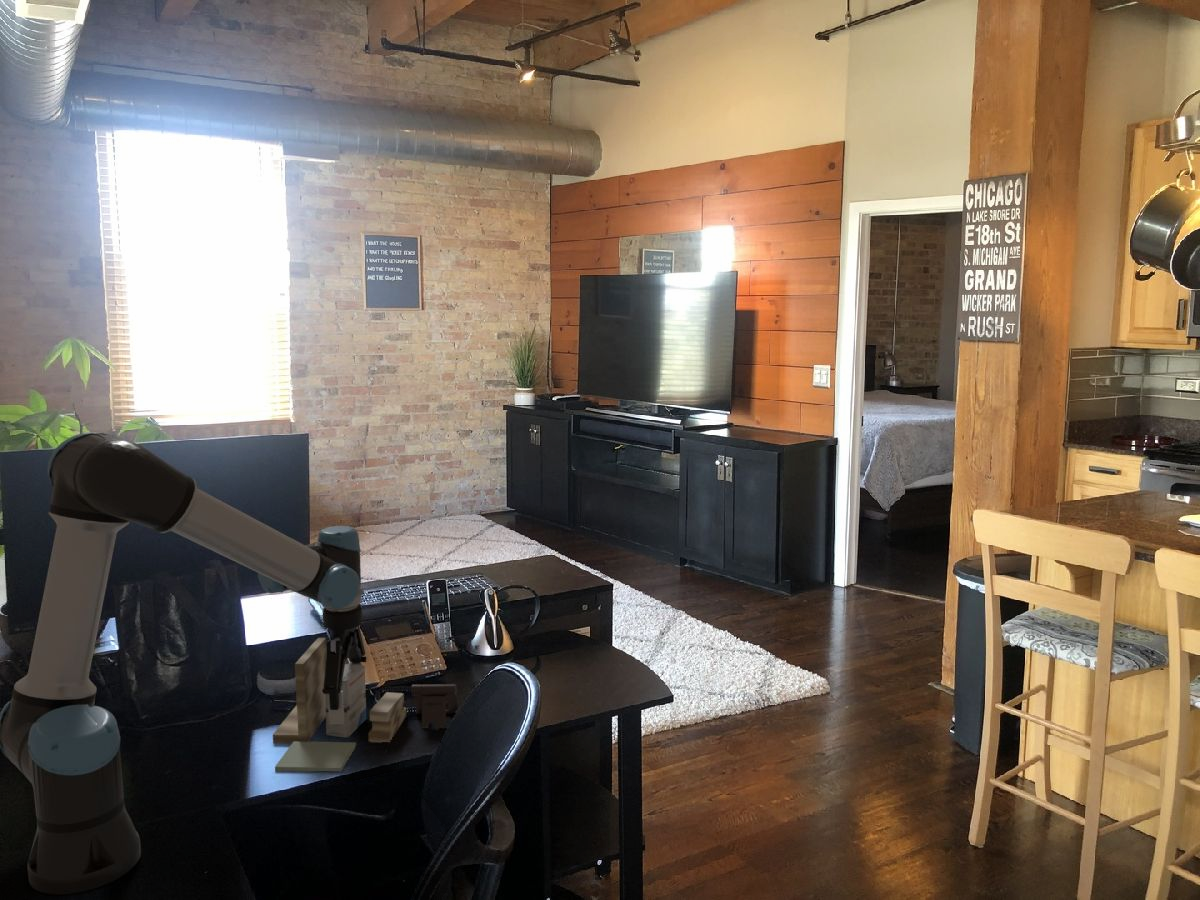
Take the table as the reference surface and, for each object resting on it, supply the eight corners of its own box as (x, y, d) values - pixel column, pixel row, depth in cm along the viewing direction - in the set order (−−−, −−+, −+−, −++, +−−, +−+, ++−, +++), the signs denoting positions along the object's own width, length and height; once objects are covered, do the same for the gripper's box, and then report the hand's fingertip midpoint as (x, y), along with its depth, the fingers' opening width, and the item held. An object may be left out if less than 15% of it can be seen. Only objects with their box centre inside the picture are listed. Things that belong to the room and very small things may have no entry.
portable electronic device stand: (460, 711, 202) (459, 673, 201) (456, 728, 194) (455, 689, 193) (417, 712, 202) (416, 673, 201) (411, 729, 194) (410, 689, 193)
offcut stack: (390, 743, 188) (389, 714, 187) (368, 742, 189) (366, 713, 188) (407, 716, 200) (406, 689, 199) (386, 715, 200) (385, 688, 199)
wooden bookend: (307, 743, 188) (303, 663, 185) (273, 742, 188) (268, 663, 186) (329, 711, 202) (325, 637, 199) (297, 711, 202) (293, 637, 199)
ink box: (345, 717, 199) (343, 662, 197) (368, 719, 198) (366, 664, 196) (325, 736, 191) (322, 679, 189) (349, 738, 190) (347, 681, 188)
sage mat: (340, 772, 177) (340, 767, 177) (275, 770, 177) (274, 766, 177) (356, 746, 187) (356, 742, 186) (293, 745, 187) (293, 741, 187)
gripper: (342, 628, 178) (347, 737, 182) (377, 586, 203) (381, 683, 206) (301, 627, 178) (307, 736, 182) (341, 585, 203) (346, 682, 206)
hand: (347, 708), depth 194 cm, fingers open, 13 cm apart
